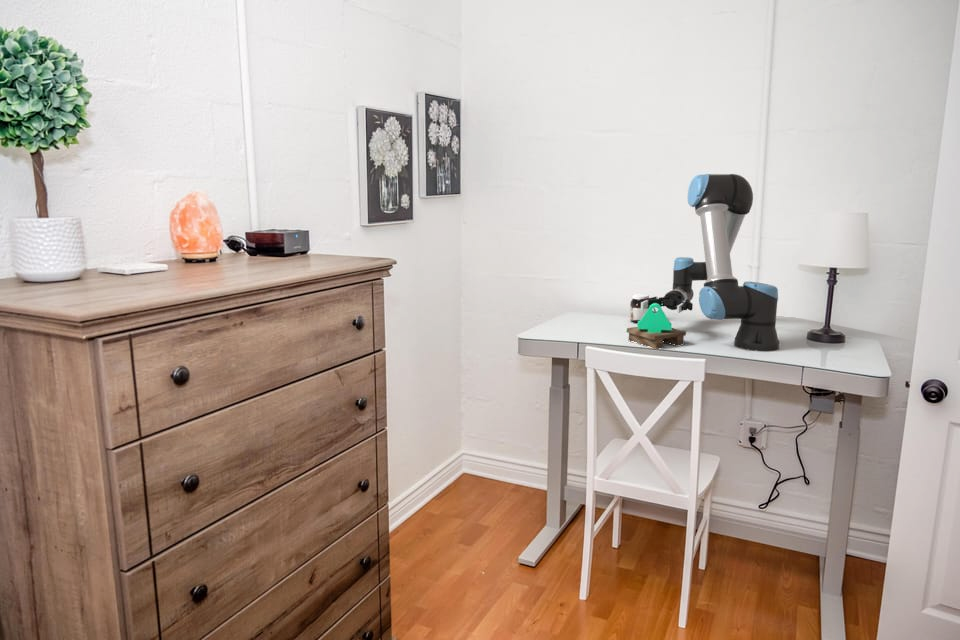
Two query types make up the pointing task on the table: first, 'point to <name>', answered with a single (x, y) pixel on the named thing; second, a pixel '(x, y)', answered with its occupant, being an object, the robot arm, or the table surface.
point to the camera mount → (654, 320)
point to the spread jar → (637, 308)
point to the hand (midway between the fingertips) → (659, 307)
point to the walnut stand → (656, 337)
